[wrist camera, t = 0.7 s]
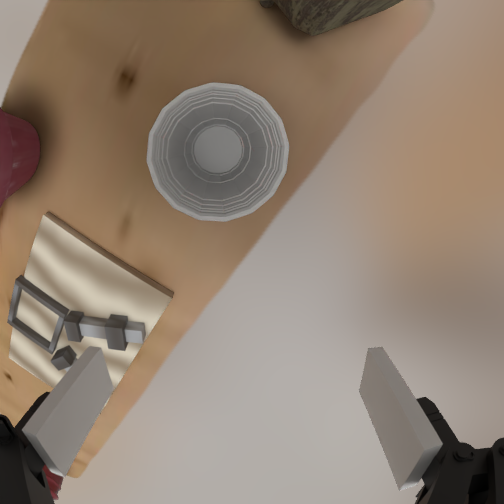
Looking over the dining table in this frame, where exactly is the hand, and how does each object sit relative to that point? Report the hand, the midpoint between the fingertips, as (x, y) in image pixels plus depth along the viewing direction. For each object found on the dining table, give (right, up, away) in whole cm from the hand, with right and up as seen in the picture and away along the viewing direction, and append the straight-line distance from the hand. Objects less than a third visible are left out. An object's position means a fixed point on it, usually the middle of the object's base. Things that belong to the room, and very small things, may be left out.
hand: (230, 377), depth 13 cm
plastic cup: (-3, +17, +19) cm, 26 cm away
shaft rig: (-26, -6, +25) cm, 36 cm away
